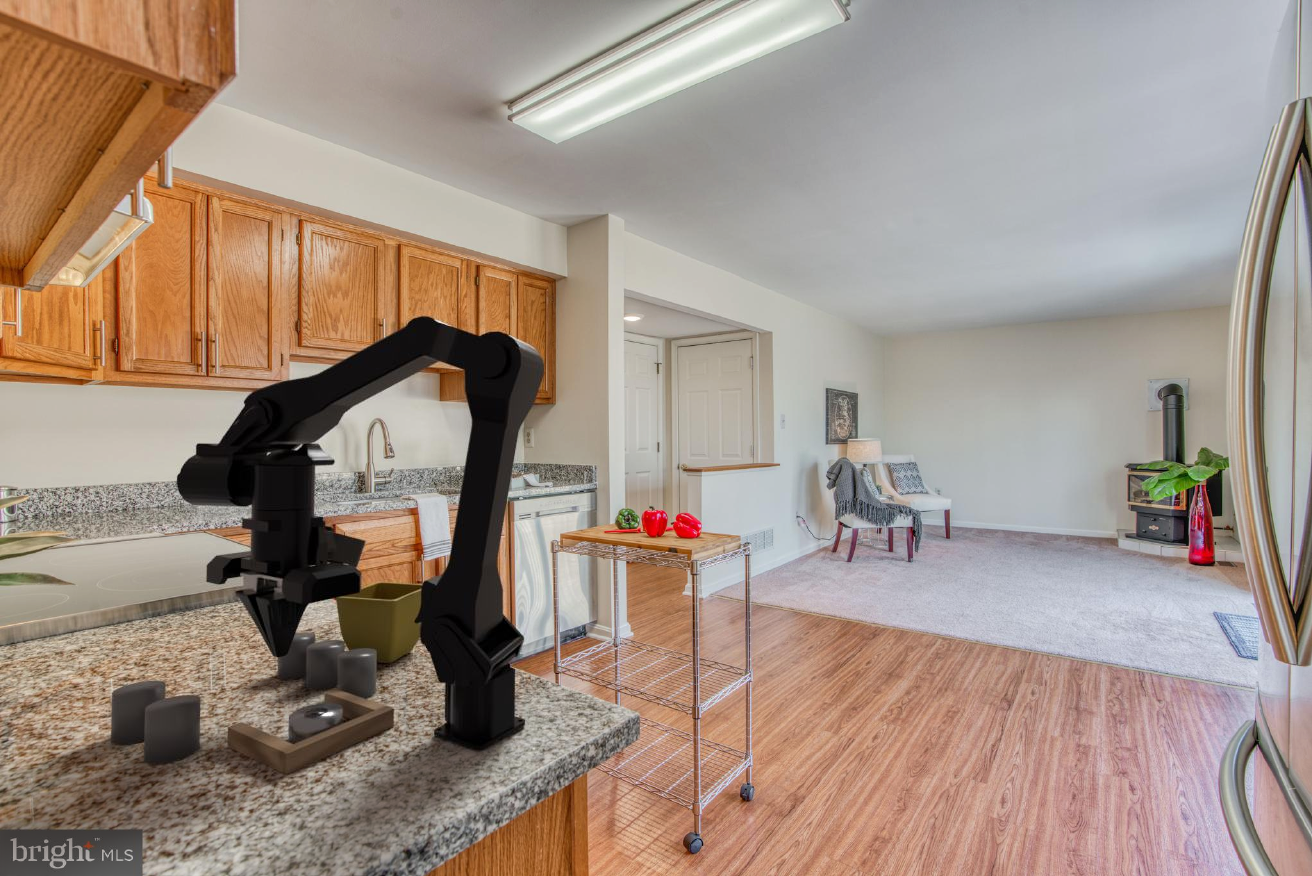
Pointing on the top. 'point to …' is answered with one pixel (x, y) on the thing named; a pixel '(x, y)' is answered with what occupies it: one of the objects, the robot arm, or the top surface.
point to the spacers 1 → (156, 721)
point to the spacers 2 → (329, 665)
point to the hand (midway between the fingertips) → (280, 655)
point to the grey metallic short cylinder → (313, 720)
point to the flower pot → (381, 619)
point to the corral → (292, 757)
